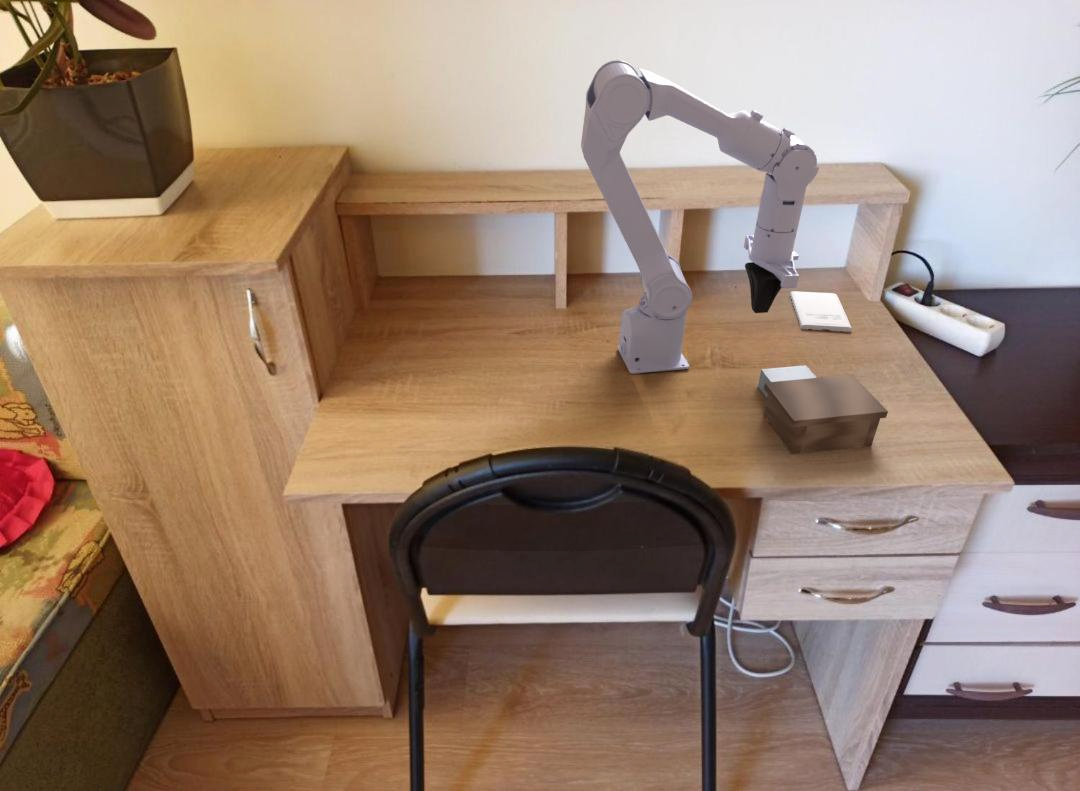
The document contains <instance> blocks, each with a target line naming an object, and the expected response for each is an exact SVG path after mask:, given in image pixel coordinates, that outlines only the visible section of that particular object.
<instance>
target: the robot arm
mask: <svg viewBox="0 0 1080 791" xmlns="http://www.w3.org/2000/svg"><path fill="white" fill-rule="evenodd" d="M637 69H638V70H639V72H640V74H641V76H639V73H638V71H637V70H636V68H635V67H634V66H633V65H632V64H631V63H629V62H627V61H625V60H621V59H618V60H617V59H616V60H610V61H607V62H605V63H603V64H602V65H601V66H600V67H599V68H598V69H597V71H596V72H595V74H594V76H593V78H592V80H591V83H590V84H589V86H588V88H587V90H586V94H585V96H586V97H585V109H584V118H583V126H582V134H581V144H580V148H581V151H582V154H583V159H584V160H585V161H584V162H586V165H587V166H588V168H589V171H590V172H591V173H590V174H592V176H593V179H594V181H595V182H596V185H597V187H598V188H599V191H600V192H601V194H602V197H603V199H604V201H605V203H606V205H607V206H608V208H609V211H610V213H611V216H613V220H615V223H616V225H617V227H618V229H619V231H620V232H621V235H622V237H623V239H624V241H625V243H626V246H627V247H628V249H629V251H630V253H631V256H632V258H633V259H634V261H635V263H636V266H637V269H638V270H639V272H640V273H639V278H640V279H639V280H640V283H641V285H642V287H643V288H644V291H645V292H643V294H642V295H641V297H640V300H639V301H638V304H637V305H636V306H633V307H630V308H626V309H623V310H622V313H621V317H620V329H619V330H620V331H619V339H618V340H619V343H618V345H617V350H618V352H619V354H620V356H621V359H622V360H623V362H624V364H625V366H626V367H627V368H626V369H627V370H628V372H629V374H645V373H655V372H656V373H657V372H666V371H668V372H669V371H676V370H689V368H690V363H689V362H688V360H687V359H686V358H685V356H684V354H683V353H682V351H683V342H684V336H685V329H686V328H685V327H686V321H687V313H688V310H689V309H690V306H691V305H692V302H693V292H692V289H691V288H690V286H689V284H688V283H687V281H686V279H685V276H684V274H683V272H682V266H681V264H680V262H679V261H678V260H677V259H676V258H674V257H673V256H672V255H670V254H669V253H668V251H667V250H666V248H665V246H664V244H663V242H662V240H661V238H660V236H659V234H658V232H657V229H656V227H655V225H654V223H653V221H652V219H651V216H650V215H649V213H648V210H647V208H646V206H645V203H644V201H643V200H642V197H641V195H640V193H639V191H638V189H637V187H636V185H635V182H634V179H633V178H632V176H631V174H630V172H629V169H628V167H627V166H626V163H625V160H624V159H623V157H622V155H621V150H622V148H623V145H624V143H625V142H626V140H627V136H628V135H629V134H630V133H631V131H632V130H634V128H635V127H636V126H637V125H639V123H640V122H641V120H642V119H643V117H644V116H645V117H646V119H647V121H649V122H650V121H655V120H657V119H660V118H663V117H665V116H669V117H671V118H673V119H676V120H678V121H680V122H683V123H685V124H687V126H688V125H689V126H690V127H693V128H695V129H697V130H699V131H701V132H703V133H705V134H708V135H710V136H713V137H715V138H716V139H717V143H718V148H719V151H720V152H722V153H723V154H725V155H727V156H729V157H731V158H732V159H735V160H737V161H739V162H741V163H743V164H744V165H747V166H749V167H751V168H753V169H755V170H757V171H758V172H761V173H762V172H765V176H764V182H763V187H762V191H761V195H760V196H761V197H760V201H759V207H758V212H757V218H756V223H755V228H754V234H751V235H748V234H747V235H745V236H744V243H743V248H744V249H745V250H746V251H747V250H748V258H749V260H750V261H751V262H746V263H745V264H744V270H745V271H746V274H747V277H748V281H749V288H750V289H749V290H750V301H751V302H750V304H751V310H752V311H753V312H754V314H765V313H768V312H769V310H770V309H771V306H772V304H773V303H774V301H775V299H776V297H777V295H778V293H780V291H781V289H796V288H797V287H798V281H799V277H800V274H798V272H797V271H796V266H795V261H797V260H799V256H800V254H798V252H796V251H795V250H794V247H795V243H796V242H795V241H796V236H797V233H798V228H799V224H800V220H801V217H802V216H801V214H802V210H803V207H804V206H803V205H804V202H805V201H804V200H805V195H806V191H807V186H808V185H809V184H810V183H812V181H813V180H814V179H815V178H816V176H817V174H818V172H819V170H820V167H819V166H818V160H817V159H818V158H817V155H816V154H815V151H814V150H813V149H812V148H811V147H810V145H808V144H806V142H805V141H804V140H802V139H801V138H799V136H797V135H795V133H794V132H792V131H791V130H790V129H788V128H787V127H783V128H782V129H780V128H778V127H776V126H775V125H773V124H771V123H769V122H767V121H765V120H763V118H764V115H763V114H762V113H761V112H759V111H757V110H755V109H752V110H751V112H748V111H747V110H744V109H743V110H739V111H736V112H732V113H727V112H725V111H723V110H722V109H720V108H718V107H716V106H714V105H713V104H711V103H710V102H707V101H706V100H704V99H702V98H701V97H699V96H697V95H696V94H693V92H690V91H689V90H687V89H685V88H684V87H681V85H678V84H676V83H675V82H673V81H672V80H670V79H667V78H665V77H663V76H661V75H658V74H657V73H654V72H652V71H650V70H647V69H644V68H640V67H638V68H637Z"/></svg>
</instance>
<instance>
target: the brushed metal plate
mask: <svg viewBox="0 0 1080 791" xmlns="http://www.w3.org/2000/svg"><path fill="white" fill-rule="evenodd" d="M809 378H818V377H817V375H815V374H814V373H813V372H812V371H811V369H810V368H809V367H808V365H806V364H805V365H794V366H783V367H772V368H771V367H770V368H761V369H760V373H759V377H758V383H757V387H758V388H759V390H760V391H761V392H762V395H764V397H765V398H766V399H767V395H768V394H767V393H766V391H765V390H764V384H765V383H766V382H777V381H788V380H798V379H809Z"/></svg>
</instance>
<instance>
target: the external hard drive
mask: <svg viewBox="0 0 1080 791" xmlns="http://www.w3.org/2000/svg"><path fill="white" fill-rule="evenodd" d="M789 293H790V294H789V297H790V296H791V298H790V300H791V299H792V301H791V304H792V303H793V304H792V307H793V306H794V307H793V309H795V310H794V313H795V312H796V313H795V316H796V315H797V316H796V319H797V318H798V319H797V321H798V320H799V322H798V324H799V323H800V324H799V327H800V329H801V330H808V329H812V330H813V331H830V332H840V331H841V332H842V331H843V333H851V332H852V329H853V328H852V325H851V324H850V321H849V318H848V316H847V313H846V312H845V310H844V307H843V304H842V303H841V301H840V298H839V297H838V295H837V294H836V293H832V292H815V291H797V290H796V291H795V290H792V291H790V292H789ZM812 330H811V331H812Z"/></svg>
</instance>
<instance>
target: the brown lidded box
mask: <svg viewBox="0 0 1080 791" xmlns="http://www.w3.org/2000/svg"><path fill="white" fill-rule="evenodd" d="M764 390H765V391H766V393H767V394H768V395H767V398H766V400H765V406H764V409H763V416H764V418H765V419H766V421H767V420H768V421H767V422H768V424H769V425H770V426H771V428H772V429H773V430H774V432H775V433H776V434H777V436H778V437H779V439H780V440H781V441H782V443H783V445H784V446H785V447H786V449H787V450H788V451H789V453H790V454H791V455H796V454H798V455H799V454H807V453H814V452H824V451H825V452H826V451H834V450H845V449H854V448H860V447H871V446H872V445H873V444H874V442H873V441H874V439H875V436H876V432H877V429H878V426H879V423H880V420H881V419H886V418H887V416H888V413H889V411H888V410H887V409H886V407H885V406H883V404H881V402H880V401H879V400H878V399H877V398H876V397H875V396H874V395H873V394H872V393H871V392H870V391H869V390H868V389H867V388H866V387H865V386H864V385H863V384H862V382H861V381H859V379H857V377H856V376H855V375H854V374H843V375H833V376H823V377H817V378H809V379H798V380H788V381H777V382H766V383H765V384H764Z"/></svg>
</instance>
